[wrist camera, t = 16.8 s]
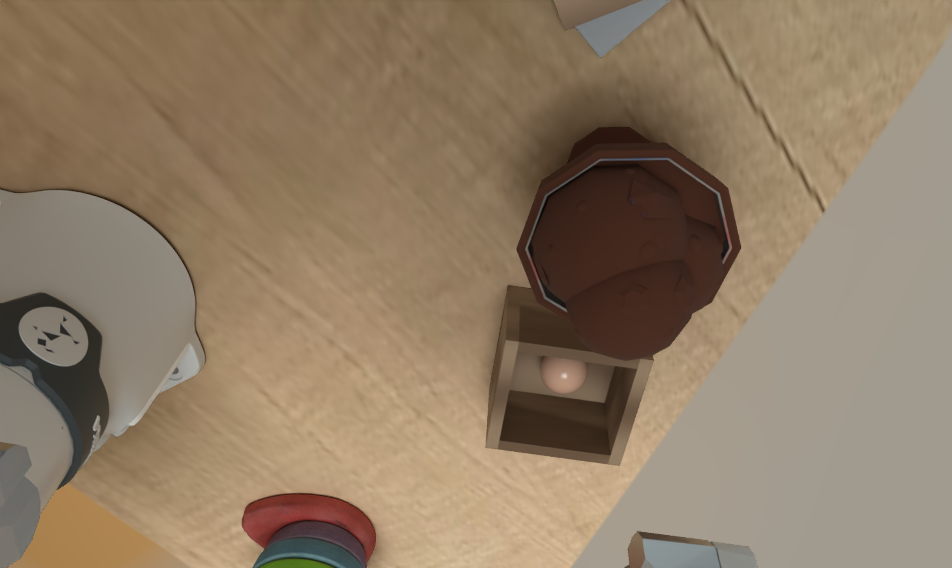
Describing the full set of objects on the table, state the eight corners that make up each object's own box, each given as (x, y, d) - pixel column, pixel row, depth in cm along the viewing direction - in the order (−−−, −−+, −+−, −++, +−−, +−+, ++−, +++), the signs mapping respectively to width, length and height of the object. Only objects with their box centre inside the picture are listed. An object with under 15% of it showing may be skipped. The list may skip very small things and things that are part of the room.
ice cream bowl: (739, 183, 48) (813, 331, 35) (584, 275, 52) (601, 437, 40) (644, 42, 44) (690, 153, 31) (484, 155, 48) (467, 293, 35)
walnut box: (612, 405, 58) (619, 465, 53) (489, 388, 58) (485, 447, 53) (642, 304, 53) (653, 360, 48) (508, 285, 53) (505, 340, 48)
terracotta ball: (559, 380, 56) (561, 411, 53) (529, 353, 55) (529, 383, 52) (595, 357, 55) (599, 387, 52) (566, 328, 53) (568, 358, 51)
